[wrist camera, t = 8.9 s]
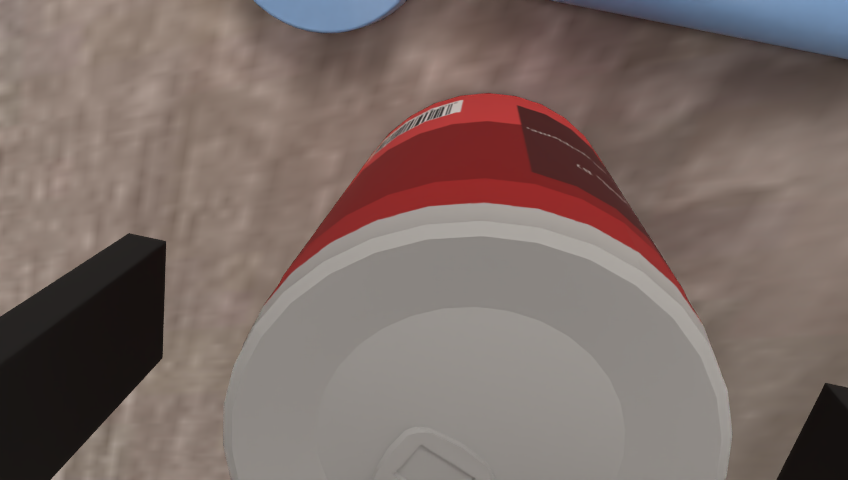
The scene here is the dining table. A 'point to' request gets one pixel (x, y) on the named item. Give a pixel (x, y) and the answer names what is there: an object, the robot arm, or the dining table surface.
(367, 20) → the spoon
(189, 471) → the dining table surface
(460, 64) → the dining table surface
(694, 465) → the canned food
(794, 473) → the robot arm
